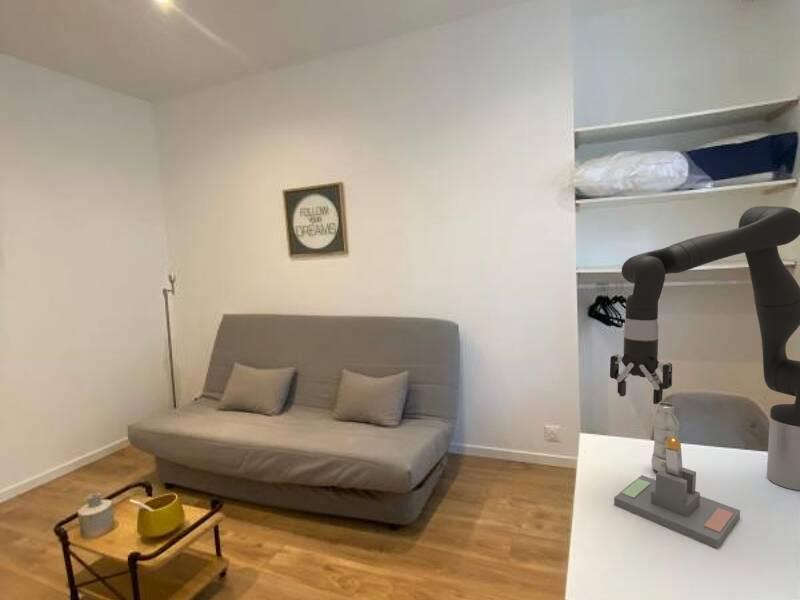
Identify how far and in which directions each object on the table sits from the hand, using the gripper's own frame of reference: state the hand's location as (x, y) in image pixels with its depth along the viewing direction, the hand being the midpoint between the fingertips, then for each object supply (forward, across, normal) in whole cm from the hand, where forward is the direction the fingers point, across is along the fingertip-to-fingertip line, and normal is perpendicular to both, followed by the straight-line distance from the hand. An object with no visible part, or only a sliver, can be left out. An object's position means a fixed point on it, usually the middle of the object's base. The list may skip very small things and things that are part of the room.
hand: (638, 399), depth 111 cm
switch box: (+26, -9, 0) cm, 28 cm away
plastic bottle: (+26, 0, -18) cm, 32 cm away
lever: (+20, -9, 0) cm, 22 cm away
